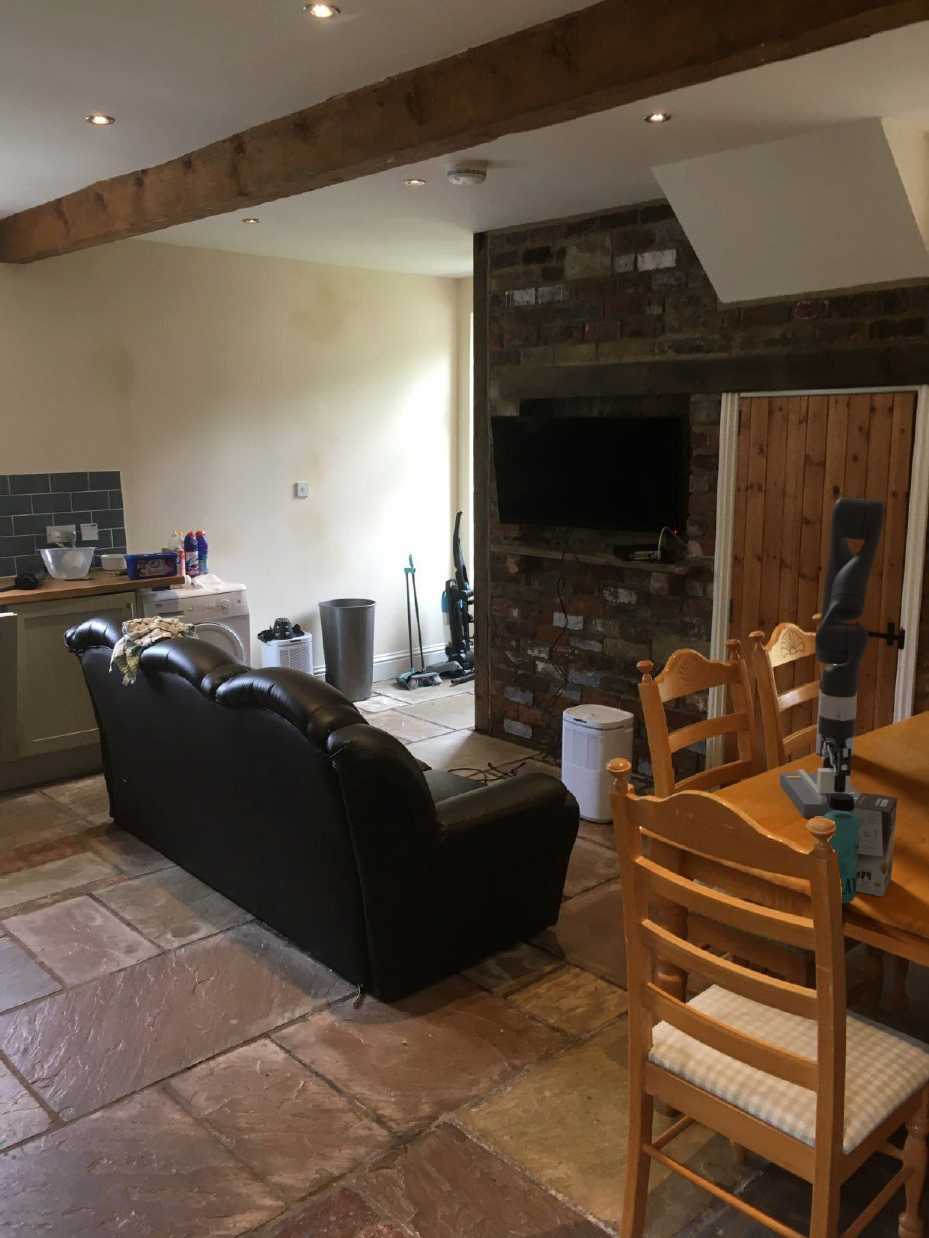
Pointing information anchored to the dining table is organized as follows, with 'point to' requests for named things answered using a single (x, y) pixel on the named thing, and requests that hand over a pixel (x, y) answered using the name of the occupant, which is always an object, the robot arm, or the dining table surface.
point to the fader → (829, 782)
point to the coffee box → (875, 842)
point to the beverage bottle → (845, 842)
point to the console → (808, 793)
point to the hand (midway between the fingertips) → (833, 785)
